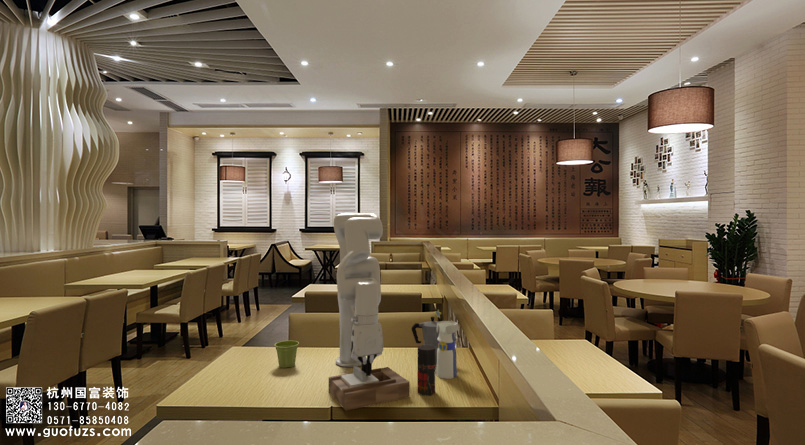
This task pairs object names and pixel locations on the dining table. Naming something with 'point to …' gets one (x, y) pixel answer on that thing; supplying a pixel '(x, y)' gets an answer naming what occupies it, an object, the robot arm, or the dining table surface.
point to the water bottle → (446, 349)
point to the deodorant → (426, 370)
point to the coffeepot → (428, 334)
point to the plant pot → (286, 353)
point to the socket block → (369, 389)
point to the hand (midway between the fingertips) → (366, 374)
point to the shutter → (358, 378)
